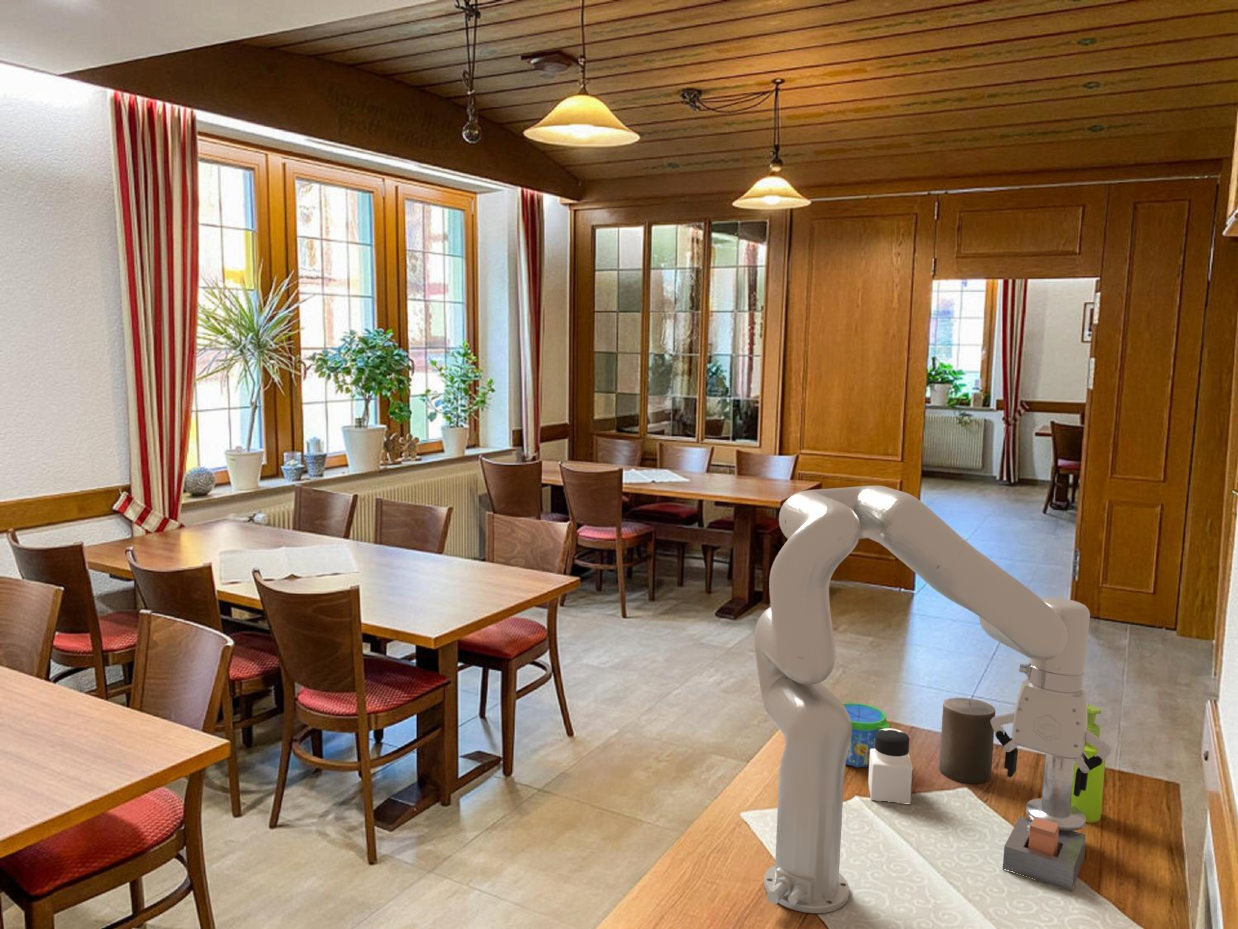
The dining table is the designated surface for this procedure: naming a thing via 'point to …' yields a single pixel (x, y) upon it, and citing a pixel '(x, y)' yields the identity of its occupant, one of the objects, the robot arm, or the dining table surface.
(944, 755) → the pillar candle
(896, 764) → the medicine bottle
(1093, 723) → the soap dispenser
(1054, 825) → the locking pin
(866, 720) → the snack cup
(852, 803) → the dining table surface
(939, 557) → the robot arm
